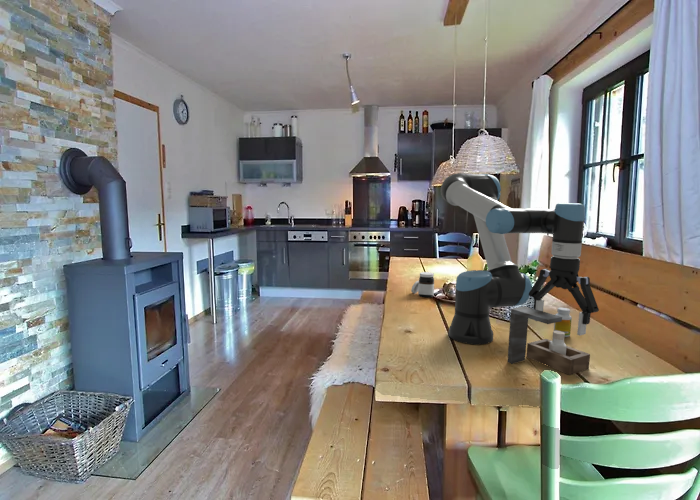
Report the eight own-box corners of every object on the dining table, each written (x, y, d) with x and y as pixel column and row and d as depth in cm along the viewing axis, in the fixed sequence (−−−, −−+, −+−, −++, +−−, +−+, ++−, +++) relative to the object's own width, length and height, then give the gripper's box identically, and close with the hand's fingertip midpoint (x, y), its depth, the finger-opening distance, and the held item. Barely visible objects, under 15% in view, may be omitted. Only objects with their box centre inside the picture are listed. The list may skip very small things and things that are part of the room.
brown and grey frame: (507, 362, 118) (511, 308, 115) (545, 352, 126) (549, 301, 124) (550, 381, 105) (555, 322, 103) (588, 368, 114) (594, 313, 111)
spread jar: (433, 299, 191) (434, 275, 190) (410, 297, 194) (410, 274, 192) (434, 293, 203) (434, 271, 201) (412, 291, 206) (412, 270, 204)
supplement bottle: (572, 337, 139) (574, 311, 138) (555, 336, 140) (558, 310, 139) (567, 332, 144) (569, 307, 143) (551, 331, 145) (553, 306, 144)
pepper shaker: (550, 364, 116) (553, 333, 115) (547, 359, 120) (550, 329, 119) (565, 366, 115) (568, 335, 114) (562, 361, 119) (564, 330, 118)
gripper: (520, 251, 122) (515, 316, 125) (602, 264, 101) (593, 343, 104) (535, 250, 126) (530, 313, 129) (618, 262, 104) (610, 338, 107)
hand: (558, 327), depth 116 cm, fingers open, 13 cm apart
